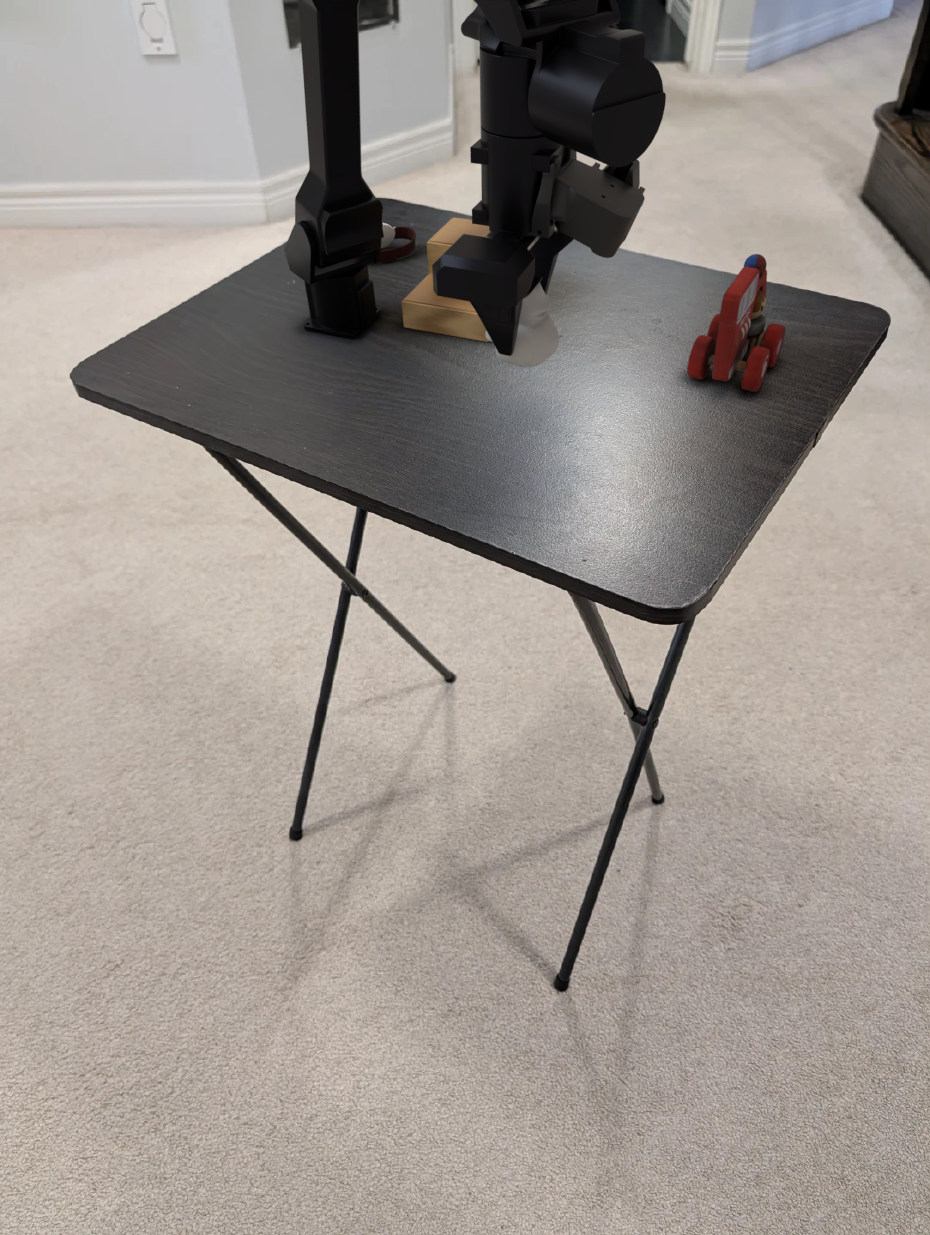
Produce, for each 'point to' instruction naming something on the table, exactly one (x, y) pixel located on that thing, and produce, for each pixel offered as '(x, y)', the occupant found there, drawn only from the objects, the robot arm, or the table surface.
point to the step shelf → (444, 312)
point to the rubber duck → (533, 332)
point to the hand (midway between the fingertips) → (519, 336)
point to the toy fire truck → (740, 332)
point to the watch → (392, 235)
